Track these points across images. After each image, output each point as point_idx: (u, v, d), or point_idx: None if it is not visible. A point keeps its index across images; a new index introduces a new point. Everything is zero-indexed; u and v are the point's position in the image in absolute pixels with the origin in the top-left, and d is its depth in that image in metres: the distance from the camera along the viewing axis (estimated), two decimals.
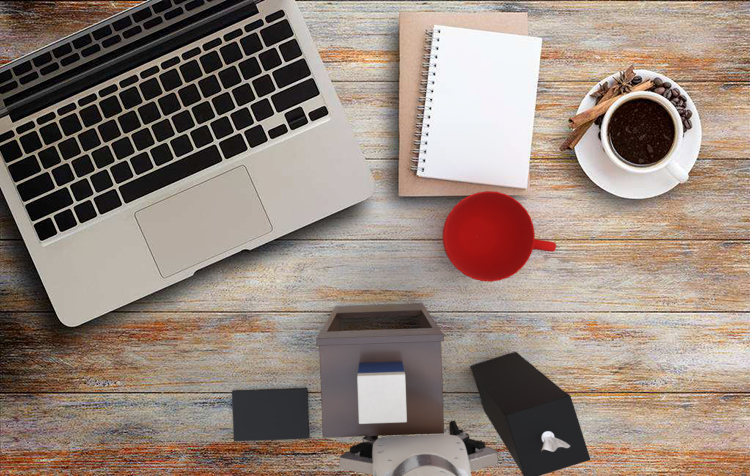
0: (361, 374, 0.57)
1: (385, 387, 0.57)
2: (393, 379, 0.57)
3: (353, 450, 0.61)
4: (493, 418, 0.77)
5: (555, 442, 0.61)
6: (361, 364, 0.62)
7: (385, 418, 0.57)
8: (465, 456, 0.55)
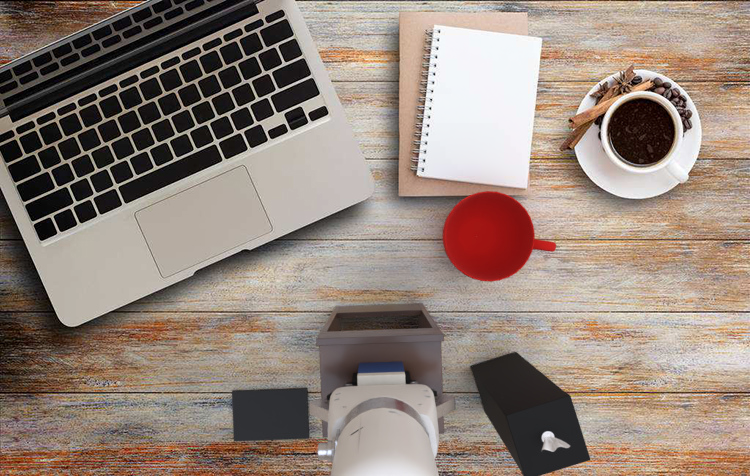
0: (361, 374, 0.57)
1: None
2: (393, 379, 0.57)
3: (328, 397, 0.55)
4: (493, 418, 0.77)
5: (555, 442, 0.61)
6: (361, 364, 0.62)
7: None
8: (431, 403, 0.48)
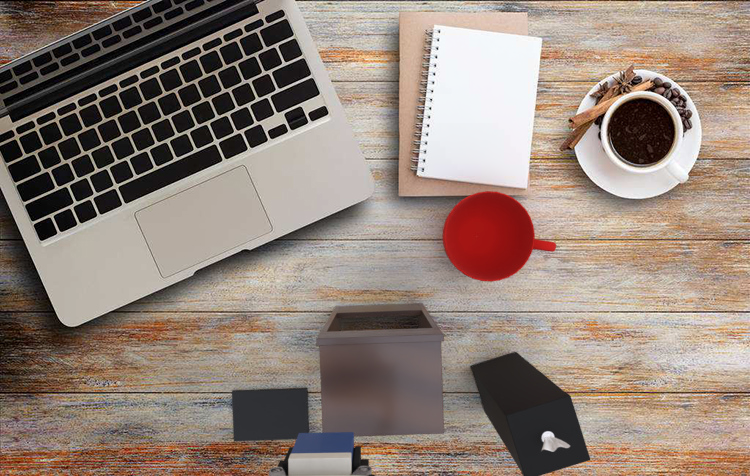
0: (294, 455, 0.44)
1: (324, 474, 0.43)
2: (335, 464, 0.43)
3: None
4: (493, 418, 0.77)
5: (555, 442, 0.61)
6: (300, 436, 0.48)
7: None
8: None
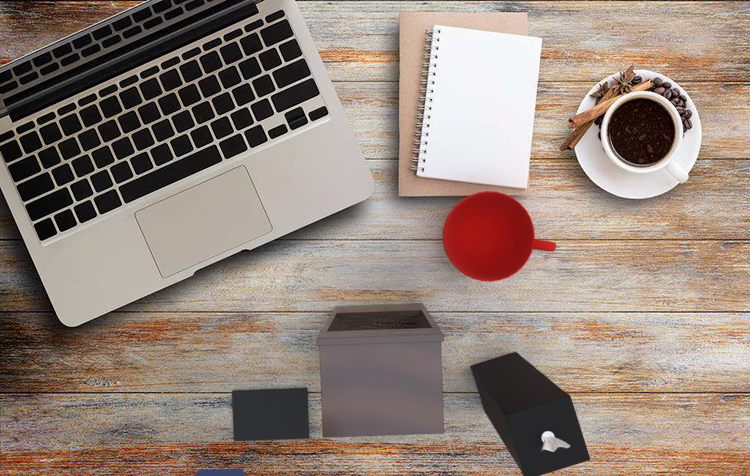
0: None
1: None
2: None
3: None
4: (493, 418, 0.77)
5: (555, 442, 0.61)
6: (198, 473, 0.59)
7: None
8: None
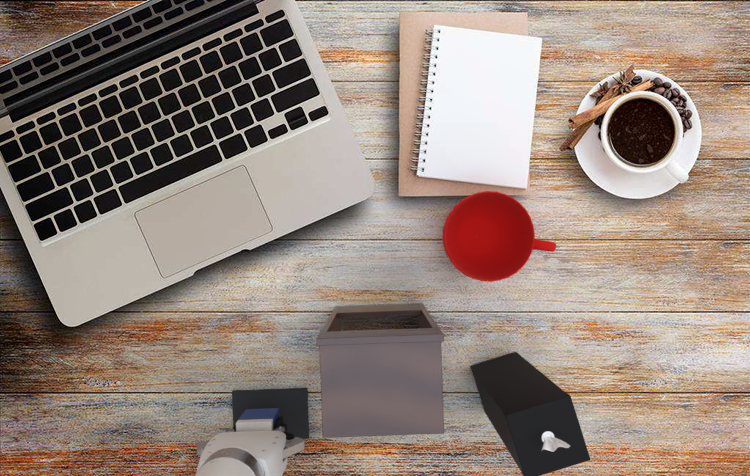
0: (239, 421, 0.77)
1: None
2: (262, 425, 0.76)
3: None
4: (493, 418, 0.77)
5: (555, 442, 0.61)
6: (246, 410, 0.81)
7: None
8: (273, 449, 0.68)
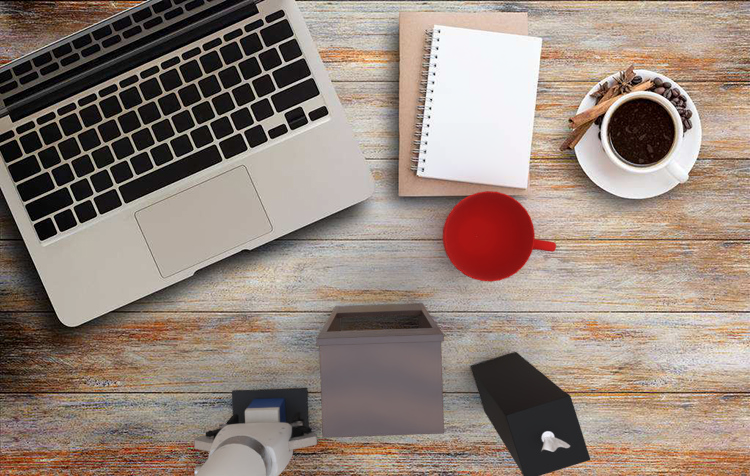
0: (248, 409, 0.82)
1: (264, 418, 0.81)
2: (269, 413, 0.81)
3: (207, 434, 0.78)
4: (493, 418, 0.77)
5: (555, 442, 0.61)
6: (254, 400, 0.86)
7: None
8: (280, 438, 0.72)
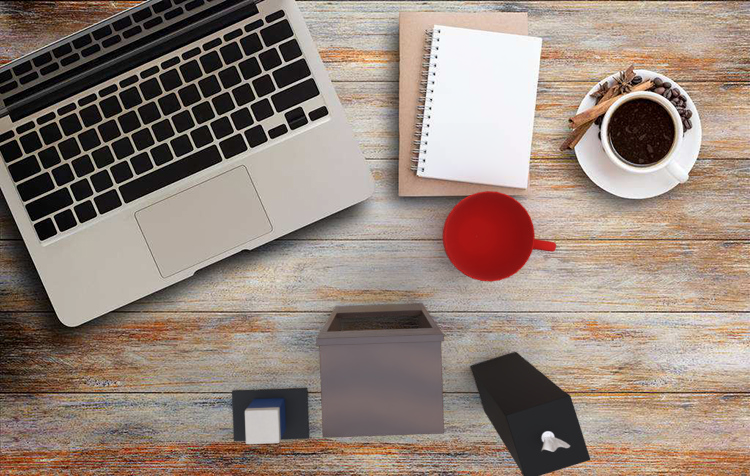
0: (248, 409, 0.82)
1: (264, 418, 0.81)
2: (269, 413, 0.81)
3: None
4: (493, 418, 0.77)
5: (555, 442, 0.61)
6: (254, 400, 0.86)
7: (264, 440, 0.81)
8: None
